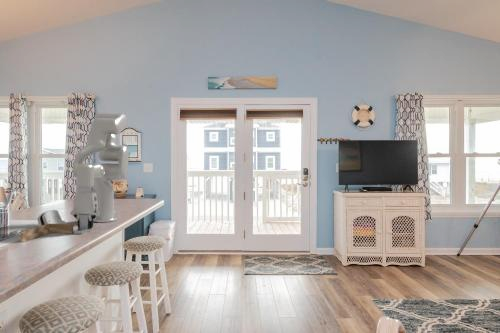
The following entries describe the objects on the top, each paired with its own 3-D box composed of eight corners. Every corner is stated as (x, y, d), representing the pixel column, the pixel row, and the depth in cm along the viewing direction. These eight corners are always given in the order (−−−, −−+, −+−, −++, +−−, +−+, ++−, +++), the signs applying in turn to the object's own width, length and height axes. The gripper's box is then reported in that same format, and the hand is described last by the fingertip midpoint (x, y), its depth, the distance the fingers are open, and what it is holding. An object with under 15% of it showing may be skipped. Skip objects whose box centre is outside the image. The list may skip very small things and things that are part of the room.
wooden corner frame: (48, 232, 156) (48, 223, 156) (73, 232, 156) (73, 224, 155) (20, 241, 138) (20, 232, 138) (48, 242, 138) (48, 232, 137)
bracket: (82, 230, 161) (82, 213, 161) (91, 230, 161) (91, 213, 161) (73, 233, 153) (73, 216, 153) (82, 234, 153) (82, 216, 153)
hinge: (52, 231, 156) (44, 212, 156) (42, 235, 156) (34, 215, 155) (66, 224, 173) (59, 206, 172) (57, 227, 172) (50, 209, 171)
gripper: (106, 189, 162) (106, 227, 163) (72, 189, 163) (72, 226, 163) (98, 191, 155) (98, 230, 155) (63, 190, 155) (63, 229, 156)
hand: (85, 228), depth 159 cm, fingers closed on bracket, 4 cm apart
